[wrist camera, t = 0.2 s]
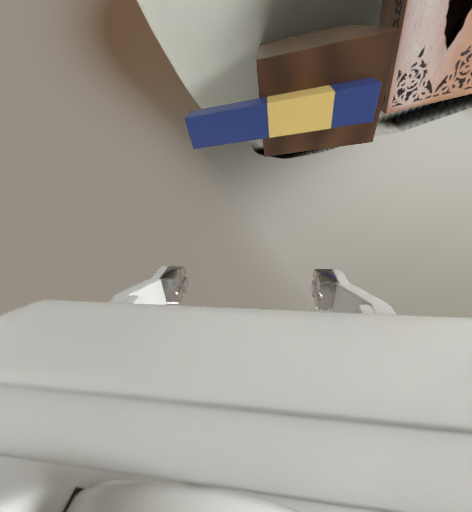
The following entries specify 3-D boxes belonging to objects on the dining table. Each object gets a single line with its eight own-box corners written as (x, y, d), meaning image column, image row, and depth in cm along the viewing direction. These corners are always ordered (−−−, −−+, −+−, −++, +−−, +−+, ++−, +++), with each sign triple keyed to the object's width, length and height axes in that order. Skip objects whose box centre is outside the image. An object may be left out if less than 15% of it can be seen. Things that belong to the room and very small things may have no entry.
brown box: (264, 113, 52) (264, 156, 36) (259, 44, 44) (256, 59, 27) (337, 101, 49) (372, 142, 33) (347, 23, 41) (401, 27, 24)
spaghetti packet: (198, 140, 35) (193, 149, 33) (190, 110, 32) (184, 118, 30) (364, 114, 31) (372, 122, 28) (371, 76, 28) (382, 82, 25)
